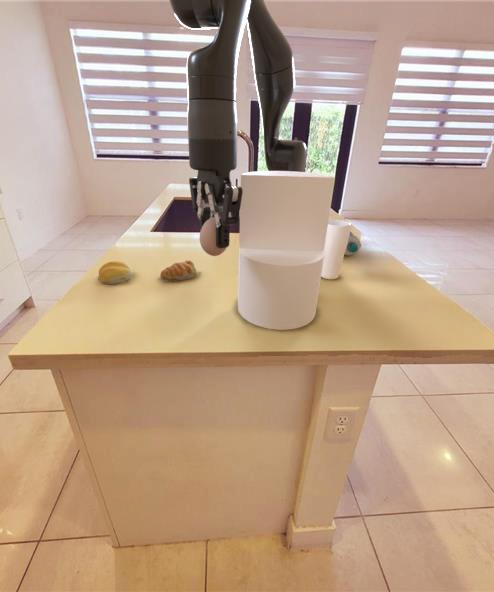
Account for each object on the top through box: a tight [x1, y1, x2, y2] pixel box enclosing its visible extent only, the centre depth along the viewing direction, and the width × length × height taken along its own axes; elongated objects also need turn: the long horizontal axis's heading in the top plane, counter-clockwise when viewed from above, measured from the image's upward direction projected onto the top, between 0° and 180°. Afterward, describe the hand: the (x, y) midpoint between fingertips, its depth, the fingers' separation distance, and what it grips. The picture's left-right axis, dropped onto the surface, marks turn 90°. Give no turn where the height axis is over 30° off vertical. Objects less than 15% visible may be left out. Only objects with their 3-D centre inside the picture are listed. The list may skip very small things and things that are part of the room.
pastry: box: [160, 260, 198, 282], centre depth 83 cm, size 9×7×4 cm
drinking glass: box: [321, 219, 352, 281], centre depth 83 cm, size 7×7×15 cm
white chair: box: [237, 170, 336, 331], centre depth 64 cm, size 17×17×28 cm
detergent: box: [344, 231, 362, 256], centre depth 108 cm, size 13×7×25 cm
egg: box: [199, 217, 228, 257], centre depth 55 cm, size 5×5×7 cm
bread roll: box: [97, 260, 133, 285], centre depth 82 cm, size 8×9×4 cm
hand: (214, 242), depth 56 cm, fingers closed on egg, 5 cm apart
